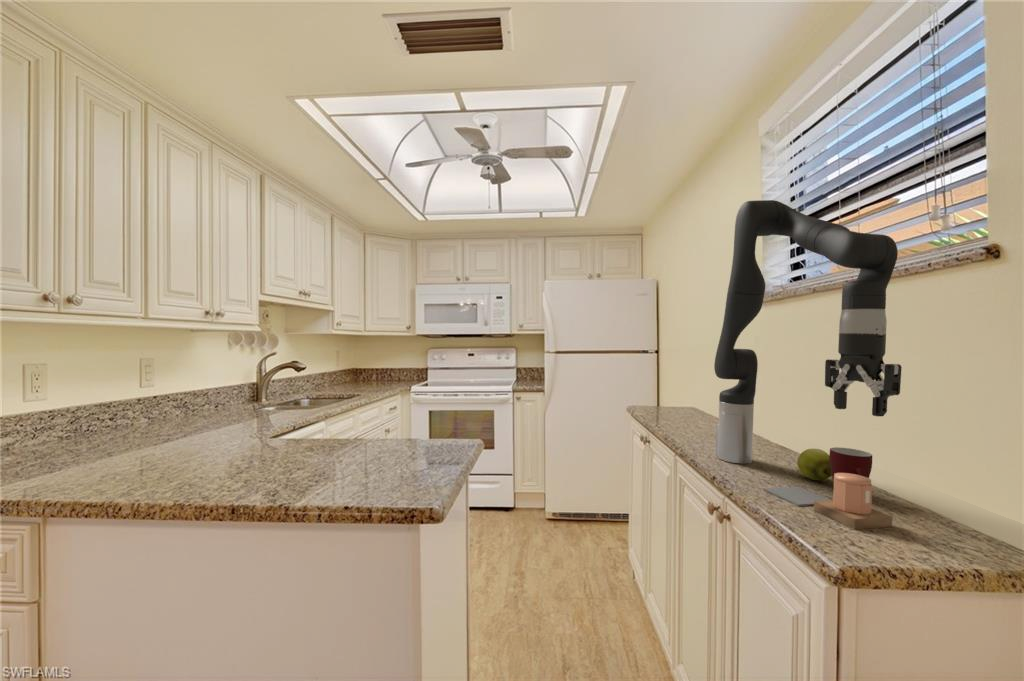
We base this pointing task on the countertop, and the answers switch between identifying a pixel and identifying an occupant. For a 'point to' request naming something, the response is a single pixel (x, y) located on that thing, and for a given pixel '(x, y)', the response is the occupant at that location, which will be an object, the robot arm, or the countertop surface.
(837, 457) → the mug
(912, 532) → the countertop surface
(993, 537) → the countertop surface
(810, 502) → the mat
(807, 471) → the apple
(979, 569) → the countertop surface
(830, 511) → the post block
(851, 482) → the cap
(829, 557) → the countertop surface
